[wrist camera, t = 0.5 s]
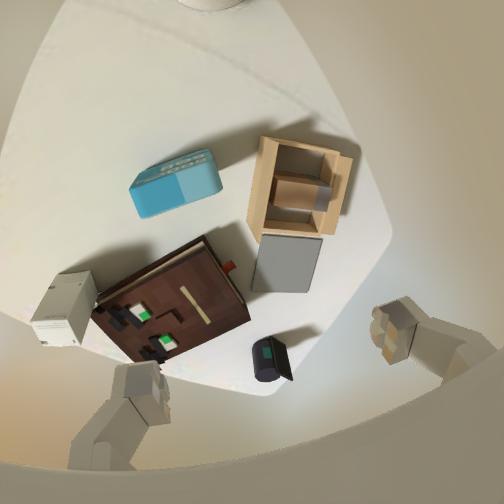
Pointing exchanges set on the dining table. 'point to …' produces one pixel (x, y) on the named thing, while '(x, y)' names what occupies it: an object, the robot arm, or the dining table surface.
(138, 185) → the blue rounded block
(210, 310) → the decorative book
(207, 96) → the dining table surface
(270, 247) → the mat
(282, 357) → the speaker
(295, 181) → the box
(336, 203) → the drawer
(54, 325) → the skincare box
